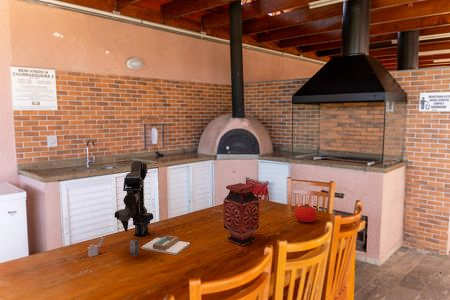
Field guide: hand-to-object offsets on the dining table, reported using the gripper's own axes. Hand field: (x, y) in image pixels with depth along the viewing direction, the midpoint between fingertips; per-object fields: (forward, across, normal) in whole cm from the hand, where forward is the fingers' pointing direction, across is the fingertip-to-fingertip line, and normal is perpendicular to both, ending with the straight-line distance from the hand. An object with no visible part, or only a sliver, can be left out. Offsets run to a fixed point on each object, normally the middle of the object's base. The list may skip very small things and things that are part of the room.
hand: (134, 232), depth 163 cm
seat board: (+11, +9, +14) cm, 20 cm away
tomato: (+11, +69, +82) cm, 108 cm away
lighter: (+11, -17, -7) cm, 21 cm away
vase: (+11, +42, +36) cm, 56 cm away
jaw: (+9, +6, +14) cm, 18 cm away
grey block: (+11, 0, 0) cm, 11 cm away
